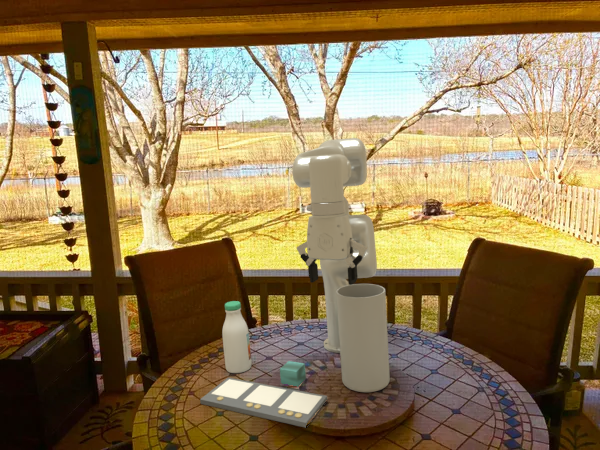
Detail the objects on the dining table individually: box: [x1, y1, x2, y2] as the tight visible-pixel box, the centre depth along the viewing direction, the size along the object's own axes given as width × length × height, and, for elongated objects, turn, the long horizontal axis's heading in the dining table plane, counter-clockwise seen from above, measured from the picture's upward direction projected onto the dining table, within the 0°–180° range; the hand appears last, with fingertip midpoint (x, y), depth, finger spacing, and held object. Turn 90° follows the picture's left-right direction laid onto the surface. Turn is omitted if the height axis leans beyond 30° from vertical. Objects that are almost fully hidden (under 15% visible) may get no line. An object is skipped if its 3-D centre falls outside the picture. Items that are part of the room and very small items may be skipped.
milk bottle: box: [221, 300, 252, 374], centre depth 128 cm, size 8×8×20 cm
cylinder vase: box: [336, 283, 391, 393], centre depth 114 cm, size 12×12×25 cm
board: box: [199, 377, 328, 429], centre depth 109 cm, size 12×30×2 cm, turn 63°
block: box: [279, 360, 307, 387], centre depth 117 cm, size 5×5×5 cm
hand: (333, 282), depth 102 cm, fingers open, 9 cm apart
